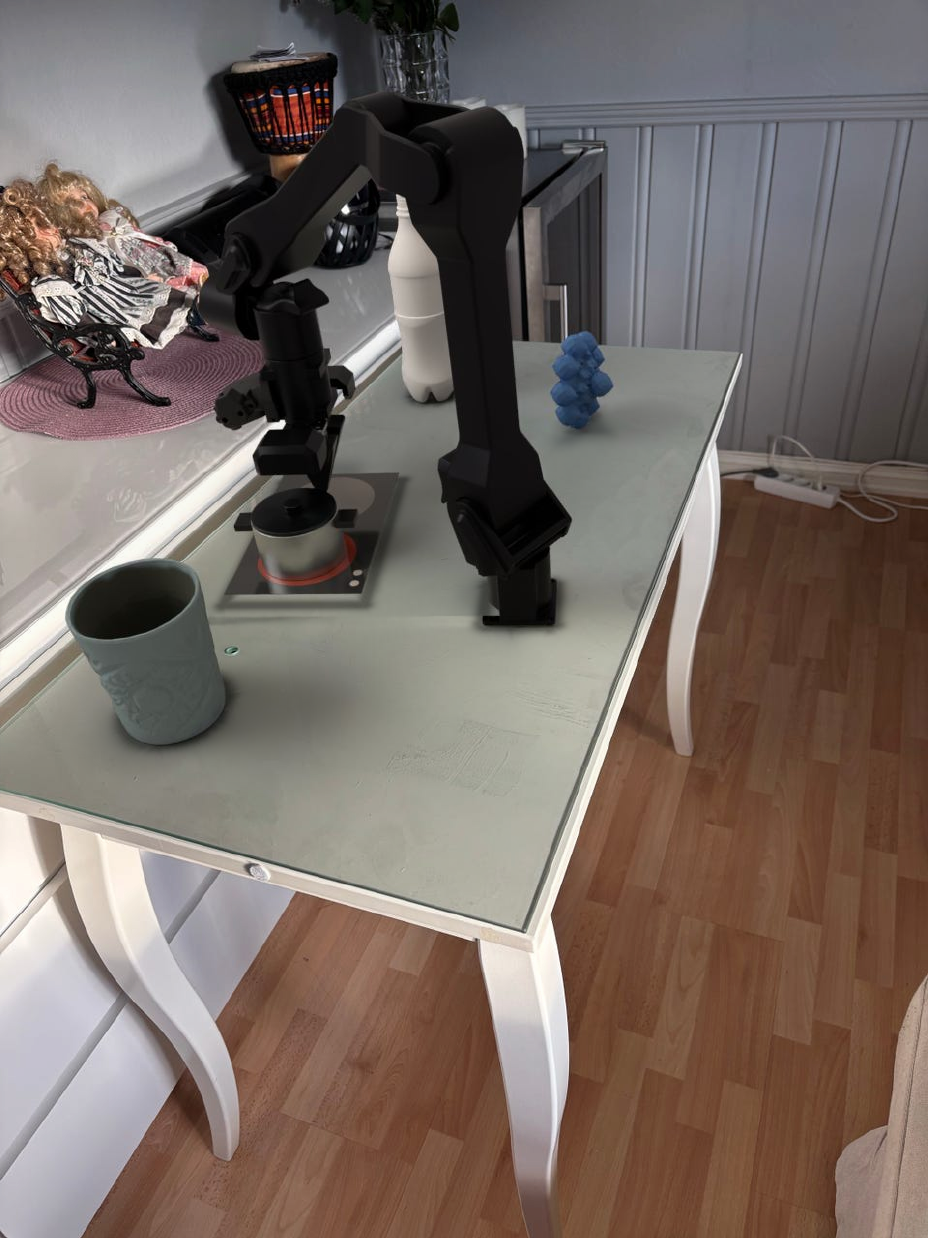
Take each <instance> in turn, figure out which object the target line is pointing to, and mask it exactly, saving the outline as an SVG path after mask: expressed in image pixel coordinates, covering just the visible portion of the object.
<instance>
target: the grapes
mask: <svg viewBox="0 0 928 1238" xmlns="http://www.w3.org/2000/svg"><path fill="white" fill-rule="evenodd" d="M560 348H561V350H562V353H563V354H560V355H559V356H558V357H557V358H556V359H555V360H554V362H553V363H552V365H551V367H552V370H553V372H554V374H555V376H557V378H558V380H559V381H558V382H556V384H554V386H553V387H552V388H551V389H550V391H549V395H550V396H551V398H552V400H553V402H554V403H555V405H557V408H556V409H555V411H554V413H555V416H556V417H557V420H558V421H559V422H560V423H561V424H562V425H564V426H566V427H571V428H572V429H574V430H581V429H583V428H584V427H585V426H586V425H588V423H590V421H591V420H592V418H591V416H593V415H594V414H595V413H597V411H598V410H599V409H600V407H601V405H600V403H599V401H598V399H597V398H602V397H605V396H606V395H607V394H609V393H610V391H611V390H612V389H613V388H614V387H615V386H614V383H613V381H612V379H611V377H610V376H609V375H608V373H606V372H604V371H602V370H601V369H600V367H601V366H602V364H603V363H604V362H605V361H606V358H605V356H604V354H603V352H602V351H601V349H600V347H599V344H598V342H597V340H596V338H595V336H594V335H593V334H592V333H591V332H589V331H588V330H584V331H579V333H573V334H569V335H568V336H567V337H566V338H564V340H563V341H562V343H561V344H560Z"/></svg>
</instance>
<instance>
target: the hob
mask: <svg viewBox="0 0 928 1238" xmlns="http://www.w3.org/2000/svg"><path fill="white" fill-rule="evenodd" d="M399 474H400V472H398V471H397V472H396V471H395V472H361V473H360V472H359V473H357V472H356V473H332V475H331V479H330V484H329V488H328V490H327V492H328V493H330V494H331V495H332V496H333V497H334V498H335V500H336V502H337V505H338V509H339V510H340V509H358V518H357V521H356V524H355V527H354V528H342V529H343V534H344V539H345V543H346V555H345V558H344V559H343V561H342V562H341V563H340V564H339V565H338V566H337V567H336V568H334V569H333V570H331V571H330V572H328V573H326V574H324V575H321V576H319V577H315V578H312V579H307V580H300V581H288V580H281V579H278V578H275V577H273V576H271V575H269V574H268V573H267V572H266V571H265V570H264V568H263V565H262V561H261V558H260V554H259V551H258V547H257V543H256V540H255V536H254V535H253V536H252V537H251V540H250V542H249V543H248V545H247V548H246V549H245V551H244V554H243V555H242V558H241V560H240V561H239V564H238V566H237V567H236V570H235V571H234V573H233V576H232V577H231V579H230V581H229V584H228V585H227V588H226V589H225V592H224V593H223V595H224V596H226V595H227V596H232V595H234V596H235V595H237V596H240V595H241V596H242V595H243V596H245V595H250V596H253V595H362V594H363V590H364V587H365V584H366V581H367V577H368V574H369V572H370V568H371V564H372V561H373V557H374V554H375V552H376V548H377V545H378V542H379V539H380V535H381V532H382V530H383V526H384V522H385V519H386V516H387V514H388V509H389V506H390V503H391V500H392V497H393V493H394V490H395V486H396V484H397V481H398V477H399ZM294 488H314V486H313V485H312V483H311V482H310V480H309V478H308V477H307V475H282V478H281V480H280V482H279V484H278V486H277V488H276V490H275V492H274V494H275V493H278V492H281V491H284V490H289V489H294Z"/></svg>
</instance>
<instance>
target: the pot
mask: <svg viewBox="0 0 928 1238" xmlns="http://www.w3.org/2000/svg"><path fill="white" fill-rule="evenodd" d="M357 518H358V509H340V510H339V509H338V505H337V502H336V500H335V498H334V497H333V496H332V495H331V494H330V493H328V492H326V491H324V490H321V489H316V488H294V489H289V490H284V491H281V492H278V493H275V492H274V493H273V494H271V495H269V496H267V497H265V498H264V499H262V500H261V501H259V502H258V503H257V504H256V505H255V507H254V508H253V509H252V511H251V512H248V511H247V512H239V513H238V516H237V518H236V519H235V522H234V524H233V525H232V526H233V530H234V532H235V533H237V532H253V536H255V540H256V543H257V547H258V551H259V554H260V558H261V561H262V565H263V568H264V570H265V571H266V572H267V573H268V574H269V575H271V576H273V577H275V578H278V579H281V580H288V581H300V580H307V579H312V578H315V577H319V576H321V575H324V574H326V573H328V572H330V571H331V570H333V569H334V568H336V567H337V566H338V565H339V564H340V563H341V562H342V561H343V559H344V558H345V555H346V543H345V539H344V534H343V529H342V528H354V527H355V524H356V521H357Z"/></svg>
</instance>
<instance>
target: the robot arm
mask: <svg viewBox="0 0 928 1238" xmlns="http://www.w3.org/2000/svg"><path fill="white" fill-rule="evenodd" d="M524 167H525V149H524V144H523V139H522V135H521V133H520V131H519V128H518V127H517V126H514V125H513V124H512V123H511V121H510V120H509V119H508V117H507V116H506V115H505V114H504V113H503V112H501V111H500V110H498V109H497V108H495V107H491V106H487V105H484V106H480V107H475V108H472V109H471V108H468V107H465V106H462V105H456V104H450V103H449V104H448V103H442V102H436V101H435V102H433V101H427V100H420V99H415V98H412V97H409V96H406V95H405V94H402V93H399V92H393V91H392V90H380V91H377V92H373V93H371V94H367V95H363V96H359V97H356V98H352V99H348V100H346V101H345V102H344V103H342V104H341V106H340V107H339V108H337V109H336V110H335V112H334V115H333V117H332V122H331V124H330V125H328V127H327V128H326V130H325V131H324V132H323V133H322V135H321V136H320V137H319V138H318V139H317V141H316V142H315V144H314V145H313V146H312V147H311V148H310V150H309V151H308V152H307V153H306V154H305V156H304V157H303V159H301V160H300V162H299V164H298V165H297V166H296V167H295V168H294V170H293V171H292V172H291V173H290V174H289V176H288V177H287V178H286V180H285V181H284V182H283V183H282V184H281V186H280V187H279V189H278V190H277V191H276V192H275V193H274V194H273V195H271V196H269V197H268V198H266V199H265V200H263V201H261V202H258V203H257V204H254V205H253V206H251V207H248V208H246V209H245V210H244V211H242V212H240V213H239V214H238V215H236V216H235V217H234V218H232V219H230V220H229V221H228V222H227V224H226V225H225V228H224V236H223V238H224V244H223V249H222V251H221V252H222V253H221V256H220V258H219V259H217V260H214V261H211V262H209V263H206V270H207V275H208V276H207V278H205V280H204V281H203V283H202V285H201V287H200V290H199V293H198V303H197V308H198V312H199V314H200V317H201V319H202V320H203V321H204V323H205V324H207V325H208V326H209V327H210V328H213V329H214V330H218V331H220V332H223V333H227V334H230V335H233V336H236V337H239V338H241V339H245V340H247V341H253V342H256V341H259V342H260V345H261V351H262V354H263V359H264V364H263V365H262V367H261V368H260V370H259V371H255V372H253V373H251V374H249V375H247V376H245V377H242V378H240V379H237V380H235V381H232V382H231V383H230V384H228V385H227V386H225V387H224V388H223V389H222V391H220V392H219V393H218V394H217V397H216V398H215V399H214V406H213V407H212V409H213V410H214V412H215V414H216V416H215V421H216V422H217V423H218V424H220V425H223V427H224V428H227V429H229V430H231V431H238V430H240V429H242V427H243V426H244V425H247V424H250V423H252V422H254V421H256V420H259V419H262V418H263V417H265V419H266V422H267V423H268V424H271V423H272V424H273V423H280V422H281V421H284V423H285V424H284V426H283V427H282V428H280V429H279V428H277V429H272V428H271V429H268V430H267V431H266V432H265V434H263V436H262V437H261V439H260V441H259V443H258V445H257V446H256V448H255V450H254V452H253V453H252V461H253V465H254V469H255V472H256V474H257V475H259V476H261V477H264V476H265V477H266V476H267V477H269V476H284V475H307V477H308V478H309V480H310V482H311V483H312V485H313V486H314V488H316V489H321V490H324V491H326V492H327V490H328V488H329V484H330V479H331V475H332V474H333V470H334V467H335V466H334V465H335V463H336V458H337V454H338V449H339V445H340V441H341V438H342V433H343V429H344V425H345V421H346V415H345V414H342V413H341V414H340V413H339V414H332V412H333V409H334V407H335V405H336V404H337V401H338V399H339V391H342V392H341V393H342V397H343V398H344V399H345V400H347V401H348V400H352V399H353V396H354V394H355V392H356V389H357V388H356V382H355V376H354V372H353V371H351V369H349V368H348V367H347V366H345V365H344V364H339V365H336V364H335V365H329V363H330V361H331V359H332V354H331V348H330V347H324V342H323V338H322V331H321V327H320V326H321V325H320V321H319V316H318V310H317V309H319V308H321V307H324V306H326V305H328V304H329V303H330V298H329V296H328V295H327V294H326V292H324V291H323V290H322V289H320V288H319V287H317V286H316V285H315V284H314V283H313V282H312V280H311V279H310V278H309V277H306V278H304V279H301V280H298V281H297V282H292V281H285V280H284V281H278V282H275V281H277V280H279V279H283V278H285V277H287V276H290V275H292V274H295V273H297V272H300V271H302V270H305V269H308V268H311V266H313V264H315V262H316V260H317V259H318V257H319V255H320V253H321V252H322V250H323V248H324V247H325V245H326V242H327V235H326V229H327V227H328V226H329V224H330V223H331V221H333V219H334V218H335V217H336V216H337V215H338V214H339V213H340V212H341V211H342V210H343V209H344V208H345V207H346V206H347V205H348V204H349V202H350V201H351V200H352V199H353V198H354V197H355V196H356V195H357V194H358V193H359V192H360V191H361V190H362V189H363V188H364V187H365V185H366V184H368V183H369V181H370V180H371V179H372V178H373V180H374V181H375V183H376V184H377V186H378V187H380V188H381V189H383V190H385V191H388V192H391V193H392V194H395V195H396V194H397V195H399V196H402V197H404V198H405V200H406V204H407V208H408V212H409V216H410V220H411V223H412V225H413V227H414V228H415V230H416V231H417V232H418V234H419V235H420V236H421V238H422V239H423V240H424V242H425V243H426V245H427V246H428V247H429V249H430V250H431V251H432V253H433V254H434V255H435V257H436V259H437V263H438V269H439V277H440V285H441V293H442V301H443V309H444V316H445V324H446V332H447V340H448V348H449V356H450V364H451V372H452V380H453V388H454V391H453V395H454V404H455V410H456V420H457V427H458V434H459V435H458V442H457V445H456V447H455V448H454V449H452V450H451V451H449V452H448V453H445V454H444V455H442V456H441V457H439V458H438V461H437V474H438V476H439V477H438V478H439V481H440V485H441V496H440V502H441V503H442V504H445V503H446V510H447V515H448V518H449V521H450V523H451V527H452V528H453V531H454V534H455V536H456V539H457V542H458V544H459V547H460V549H461V552H462V555H463V557H464V560H465V562H466V563H467V564H469V565H471V566H473V567H475V569H476V570H477V573H478V574H477V575H479V576H481V577H484V578H485V577H486V582H487V592H488V594H487V595H488V601H489V603H490V604H491V606H493V608H495V609H496V610H498V615H482V618H481V621H482V625H483V626H485V627H486V626H487V627H525V626H526V627H527V626H528V627H538V626H539V627H547V626H548V627H551V626H554V625H555V624H556V619H557V615H556V614H557V593H558V592H557V591H558V581H557V579H556V578H555V577H553V578H552V567H551V565H552V564H551V546H552V545H553V544H554V543H556V542H557V541H558V540H559V539H561V538H565V536H567V535H568V533H569V530H570V528H571V525H572V522H573V517H572V516H571V515H570V513H569V512H568V511H567V509H566V507H565V506H564V504H563V503H562V502H561V500H560V499H559V498H558V497H557V495H556V493H555V492H554V491H553V490H552V488H551V487H550V485H549V484H548V483H547V481H546V480H545V477H544V472H543V469H542V464H541V459H540V455H539V452H538V451H537V450H536V449H535V447H534V446H533V445H532V444H531V442H530V441H529V440H528V439H527V438H526V436H525V434H524V433H522V430H521V426H520V415H519V414H520V413H519V403H518V401H519V400H518V390H517V379H516V378H517V377H516V365H515V354H514V352H515V351H514V342H513V331H512V330H513V329H512V318H511V306H510V305H511V303H510V294H509V293H510V292H509V281H508V268H507V257H506V255H507V246H508V243H509V239H510V237H511V234H512V232H513V228H514V226H515V223H516V220H517V217H518V215H519V213H520V212H519V211H520V209H521V206H522V200H523V187H524V186H523V185H524V184H523V182H524Z"/></svg>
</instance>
